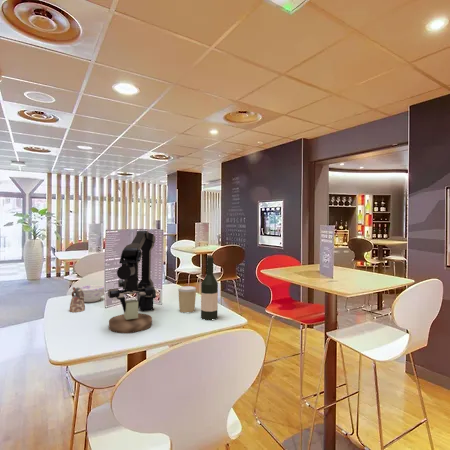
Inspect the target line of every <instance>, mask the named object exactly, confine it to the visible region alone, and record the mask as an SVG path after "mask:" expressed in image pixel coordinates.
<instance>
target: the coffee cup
mask: <svg viewBox="0 0 450 450" xmlns="http://www.w3.org/2000/svg"><path fill="white" fill-rule="evenodd" d="M177 290H178V306H179V307H178V308H179V312H180V313H182V312H191V313H194V312H195V309H196V307H195V306H196V298H197V297H196V296H197V288H196V286H189V285H188V286H180V287H179V288H178V289H177ZM193 311H194V312H193Z"/></svg>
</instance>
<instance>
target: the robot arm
mask: <svg viewBox="0 0 450 450" xmlns="http://www.w3.org/2000/svg"><path fill="white" fill-rule="evenodd" d="M155 243H156V236H155V235H154V233H152V232H149V231H148V230H142V229H141V230H137V231H136V235H135V236H134V238H133V239H132V241H131V243H130V244H127V245H126V246H125V247H124V248H123V249H122V250H121V251H122V252H121V255H120V258H119V264H121V266H119V267H118V269H117V271H116V276H117V277H118V278H119V279H118V280H117V281H118V283H117V286H118V288H109V289H108V290H107V296H108V297H109V299H117V300H119V301H120V304H121V307H122V310H123V313H124V312H125V310H126V307H125V301H126V297H125V296H124V295H131V294H132V295H133V294H136V295H137V296H136V297H137V298H136V300H137V301H138V310H140V311H141V312H149V311H154V310H155V308H154V299H157V293H156V288H155V286H154V282H153V280H152V279H151V271H152V270H151V266H152V265H151V264H152V262H151V261H152V260H151V259H152V254H151V253H152V250H153V248H154V247H155ZM140 262H141V279H140V280H139V263H140ZM119 288H122V289H121V290H120V289H119Z"/></svg>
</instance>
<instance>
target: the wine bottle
mask: <svg viewBox="0 0 450 450" xmlns="http://www.w3.org/2000/svg"><path fill="white" fill-rule="evenodd" d="M218 284H219V282H218V281H217V279H216V277H215V276H214V257H213V255H207V257H206V275H205V276H204V279H203V280H202V282H201V284H200V286H201V287H200V288H201V289H200V294H201V295H200V296H201V297H200V319H201V318H202V319H201V320H203V319H205V320H204V321H213V320H212V319H215V320H217V319H218V311H219V310H218V309H219V308H218V306H219V305H218V302H219V301H218V300H219V299H218V296H219V295H218V294H219V293H218V292H219V291H218V290H219V286H218ZM216 318H217V319H216Z"/></svg>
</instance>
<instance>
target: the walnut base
mask: <svg viewBox="0 0 450 450" xmlns="http://www.w3.org/2000/svg"><path fill="white" fill-rule="evenodd" d="M108 320H109V321H108V329H109V331H110V332H112V333H118V334H132V333H139V332H143V331H146V330H148V329H150V328H151V327H152V325H153V317H152V315H150V314H147V313H143V312H142V313H139V312H138V318H135V319H128V320H126V319H125V317H124V313H123V314H119V315H115V316H113V317H111V318H110V319H108Z"/></svg>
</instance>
